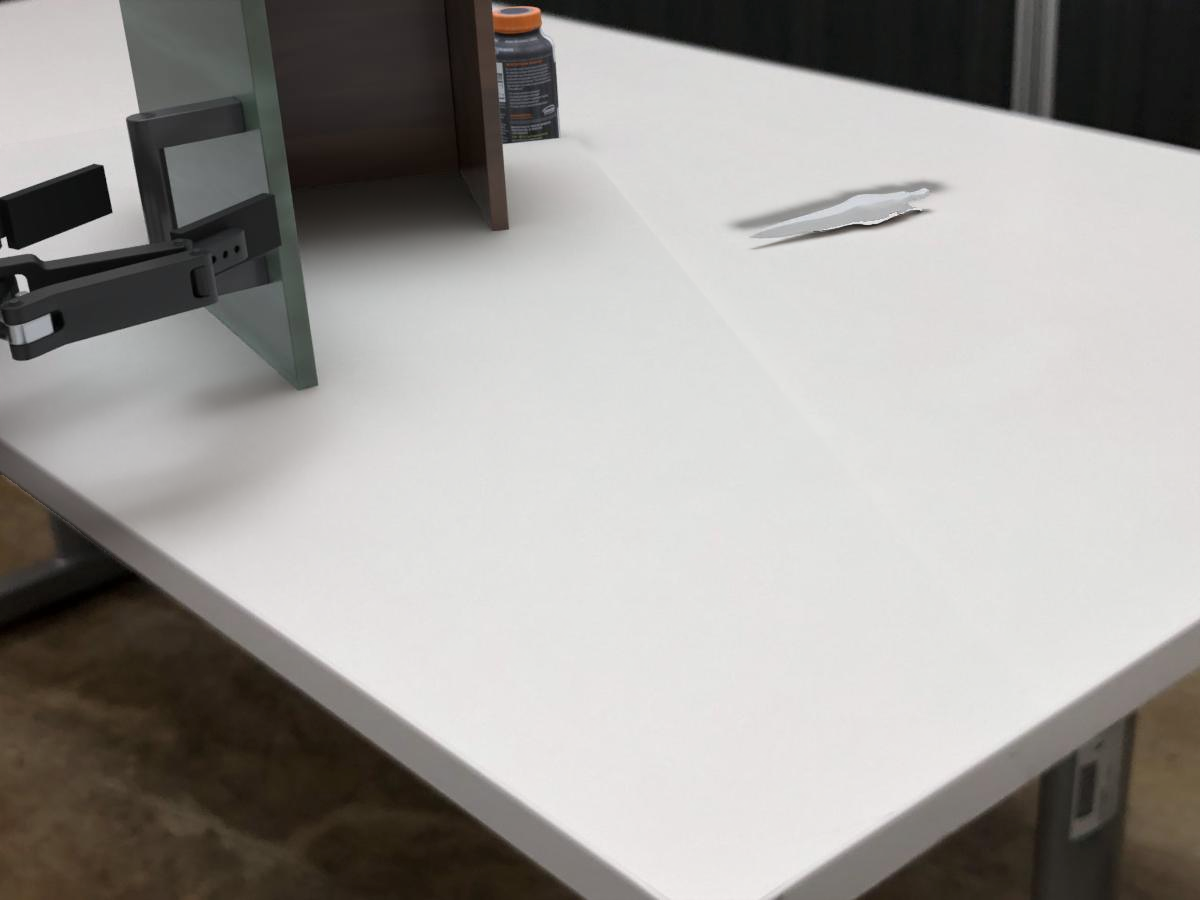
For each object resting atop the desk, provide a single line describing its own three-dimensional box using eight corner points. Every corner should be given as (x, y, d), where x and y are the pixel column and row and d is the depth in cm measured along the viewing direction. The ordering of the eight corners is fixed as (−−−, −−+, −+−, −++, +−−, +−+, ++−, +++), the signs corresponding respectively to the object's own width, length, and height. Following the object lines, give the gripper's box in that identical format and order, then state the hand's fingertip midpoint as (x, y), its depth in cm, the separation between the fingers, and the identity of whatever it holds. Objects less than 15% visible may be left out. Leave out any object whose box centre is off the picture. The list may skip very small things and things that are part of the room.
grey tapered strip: (916, 204, 114) (917, 179, 113) (939, 214, 112) (940, 188, 111) (738, 243, 108) (738, 217, 108) (758, 254, 106) (758, 228, 105)
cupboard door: (201, 443, 84) (117, -17, 73) (85, 317, 101) (3, -71, 90) (322, 409, 87) (259, -37, 76) (190, 292, 104) (123, -86, 93)
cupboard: (510, 251, 109) (482, -119, 98) (181, 292, 105) (113, -89, 94) (474, 185, 123) (446, -146, 112) (182, 218, 119) (123, -121, 108)
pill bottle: (569, 137, 134) (561, 1, 128) (550, 157, 129) (542, 17, 123) (501, 135, 135) (491, 1, 130) (481, 155, 130) (470, 17, 125)
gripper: (-315, 380, 74) (46, 238, 91) (24, 491, 63) (369, 306, 79) (-367, 229, 71) (18, 110, 87) (-19, 317, 59) (351, 160, 75)
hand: (185, 203), depth 83 cm, fingers open, 12 cm apart
